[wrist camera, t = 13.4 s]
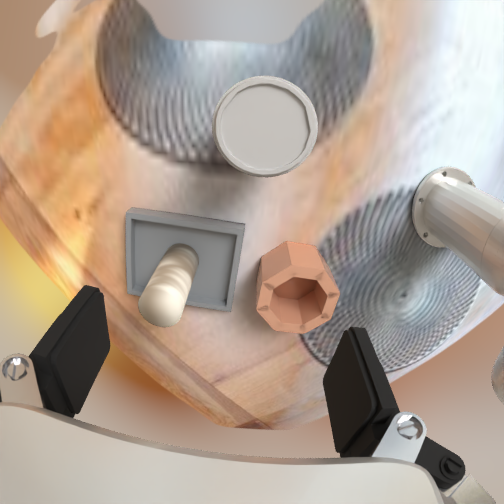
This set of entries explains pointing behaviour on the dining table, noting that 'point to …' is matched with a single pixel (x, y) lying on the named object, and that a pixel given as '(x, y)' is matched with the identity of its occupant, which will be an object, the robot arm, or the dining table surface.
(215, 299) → the tray
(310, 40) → the dining table surface
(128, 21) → the dining table surface
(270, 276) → the terracotta octagonal pot
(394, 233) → the dining table surface
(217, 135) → the disposable coffee cup
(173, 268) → the peg
